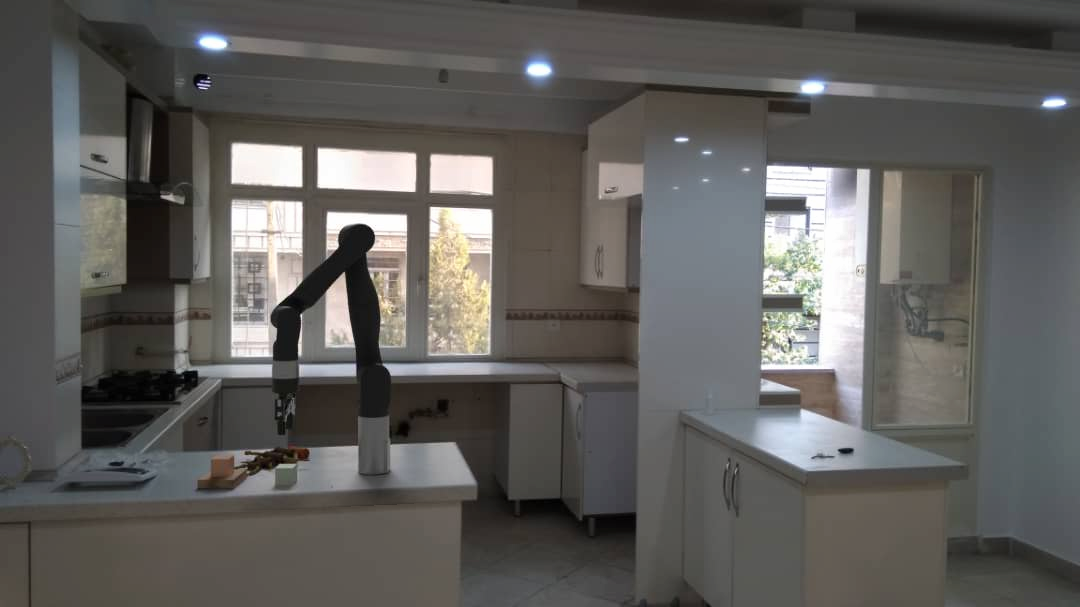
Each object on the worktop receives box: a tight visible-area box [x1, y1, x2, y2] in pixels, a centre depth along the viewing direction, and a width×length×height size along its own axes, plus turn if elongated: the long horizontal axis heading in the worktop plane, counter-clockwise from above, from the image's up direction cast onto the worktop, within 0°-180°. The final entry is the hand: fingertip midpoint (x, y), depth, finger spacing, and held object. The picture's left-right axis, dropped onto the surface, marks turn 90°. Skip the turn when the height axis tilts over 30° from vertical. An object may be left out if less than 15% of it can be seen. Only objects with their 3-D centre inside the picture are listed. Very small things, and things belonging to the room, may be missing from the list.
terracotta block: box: [210, 454, 235, 477], centre depth 241 cm, size 5×5×5 cm
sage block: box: [274, 463, 298, 486], centre depth 242 cm, size 5×5×5 cm
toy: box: [234, 445, 311, 477], centre depth 263 cm, size 26×6×30 cm
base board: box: [196, 468, 248, 489], centre depth 242 cm, size 10×12×2 cm
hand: (285, 431), depth 242 cm, fingers open, 8 cm apart
